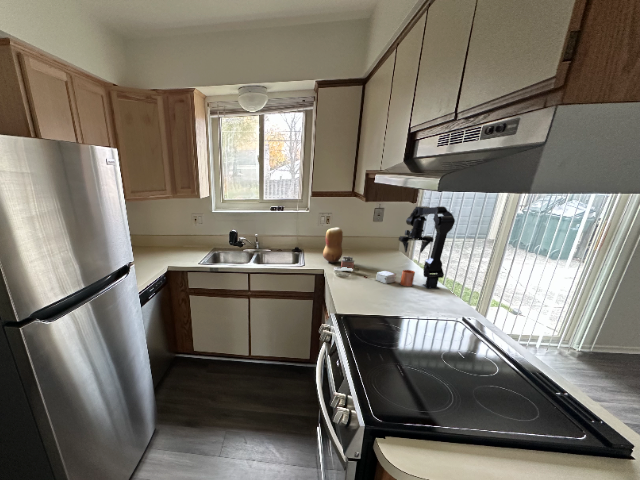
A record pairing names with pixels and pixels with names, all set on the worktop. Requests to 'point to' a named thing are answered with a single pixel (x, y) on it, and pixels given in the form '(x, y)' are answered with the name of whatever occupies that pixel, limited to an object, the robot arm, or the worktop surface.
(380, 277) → the small box
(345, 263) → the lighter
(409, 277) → the cup
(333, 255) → the butternut squash
